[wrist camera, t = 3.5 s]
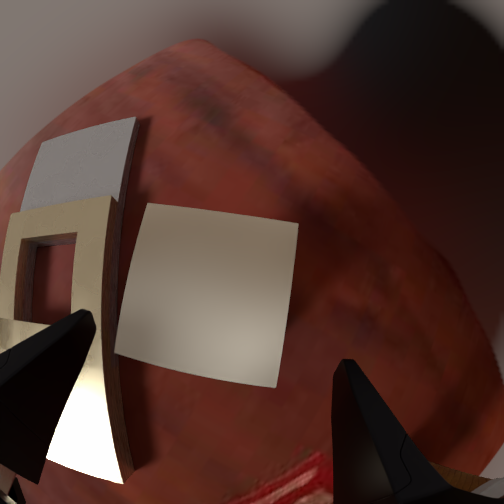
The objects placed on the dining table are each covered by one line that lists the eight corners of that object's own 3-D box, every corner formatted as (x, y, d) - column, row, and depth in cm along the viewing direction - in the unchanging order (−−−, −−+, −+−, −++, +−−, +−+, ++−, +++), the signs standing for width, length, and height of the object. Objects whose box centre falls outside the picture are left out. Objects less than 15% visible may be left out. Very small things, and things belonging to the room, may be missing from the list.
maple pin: (259, 352, 17) (276, 387, 7) (190, 340, 17) (114, 352, 7) (269, 284, 18) (298, 223, 8) (202, 274, 18) (147, 202, 8)
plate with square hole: (134, 471, 14) (123, 483, 12) (29, 436, 14) (14, 441, 11) (139, 124, 22) (132, 108, 20) (47, 148, 22) (36, 136, 20)
